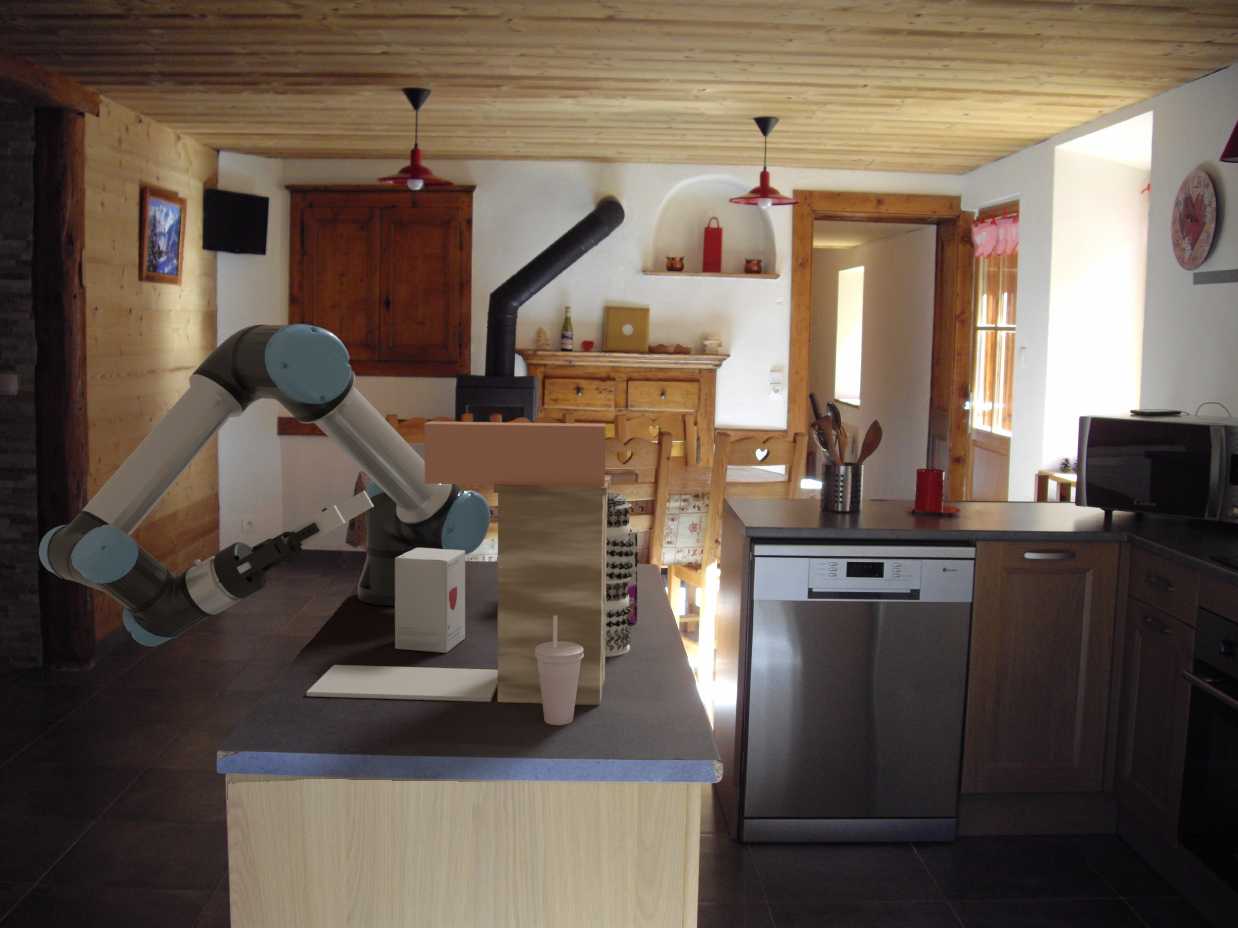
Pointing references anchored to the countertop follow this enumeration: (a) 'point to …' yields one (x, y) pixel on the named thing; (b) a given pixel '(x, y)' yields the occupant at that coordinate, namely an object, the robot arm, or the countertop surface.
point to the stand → (551, 583)
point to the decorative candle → (617, 576)
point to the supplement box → (429, 599)
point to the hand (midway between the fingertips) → (355, 505)
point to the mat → (407, 683)
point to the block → (514, 453)
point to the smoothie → (558, 677)
